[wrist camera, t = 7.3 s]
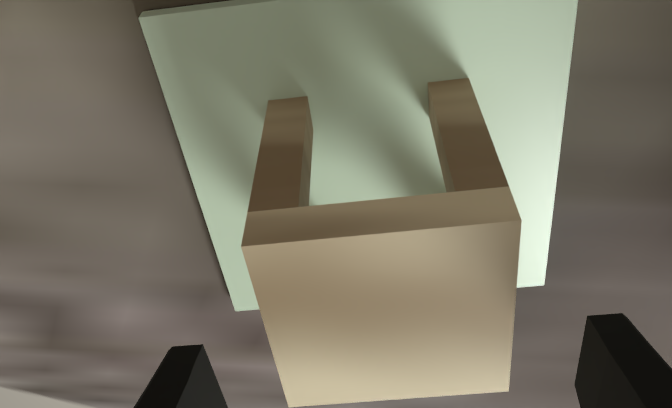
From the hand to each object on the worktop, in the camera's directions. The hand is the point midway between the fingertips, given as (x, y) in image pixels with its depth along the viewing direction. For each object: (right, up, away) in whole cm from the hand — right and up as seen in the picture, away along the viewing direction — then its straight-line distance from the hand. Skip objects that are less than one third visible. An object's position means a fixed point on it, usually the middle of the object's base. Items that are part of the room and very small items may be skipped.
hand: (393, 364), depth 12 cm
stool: (0, +4, +5) cm, 6 cm away
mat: (0, +4, +5) cm, 7 cm away
